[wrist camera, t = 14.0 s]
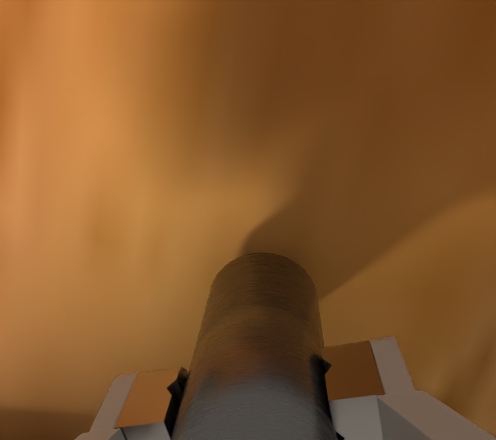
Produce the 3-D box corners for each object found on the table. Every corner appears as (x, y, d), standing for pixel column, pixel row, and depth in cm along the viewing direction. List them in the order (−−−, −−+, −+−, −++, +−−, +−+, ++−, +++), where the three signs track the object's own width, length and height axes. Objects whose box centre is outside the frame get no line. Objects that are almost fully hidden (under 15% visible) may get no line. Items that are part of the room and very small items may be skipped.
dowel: (326, 336, 13) (371, 628, 7) (225, 353, 14) (177, 642, 7) (305, 243, 12) (335, 482, 6) (196, 264, 13) (109, 510, 6)
